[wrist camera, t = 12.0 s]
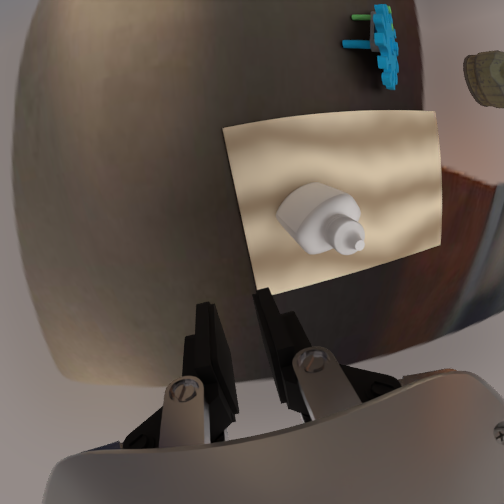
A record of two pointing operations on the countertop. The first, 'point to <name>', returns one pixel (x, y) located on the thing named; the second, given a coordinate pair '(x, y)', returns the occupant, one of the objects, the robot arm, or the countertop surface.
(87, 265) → the countertop surface
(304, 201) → the eye dropper bottle
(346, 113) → the beige flat sheet
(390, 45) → the gear
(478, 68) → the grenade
